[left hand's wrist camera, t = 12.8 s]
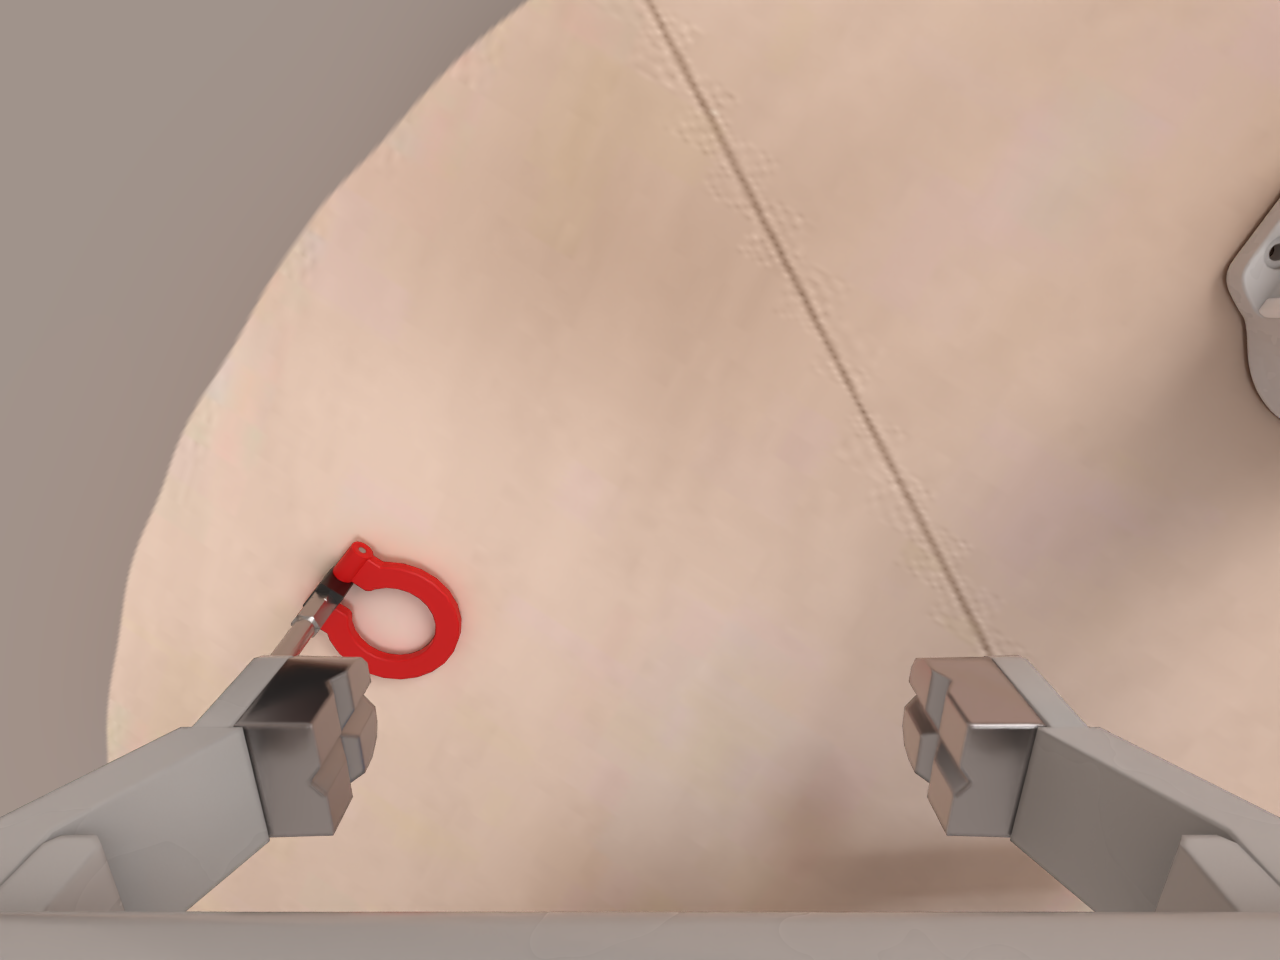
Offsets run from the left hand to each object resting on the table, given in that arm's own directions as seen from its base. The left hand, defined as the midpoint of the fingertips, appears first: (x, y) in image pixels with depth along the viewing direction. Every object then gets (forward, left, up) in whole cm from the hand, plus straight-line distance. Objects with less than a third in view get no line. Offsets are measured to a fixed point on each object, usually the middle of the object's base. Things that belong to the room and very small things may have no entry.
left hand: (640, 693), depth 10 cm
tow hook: (+20, -11, -30) cm, 38 cm away
